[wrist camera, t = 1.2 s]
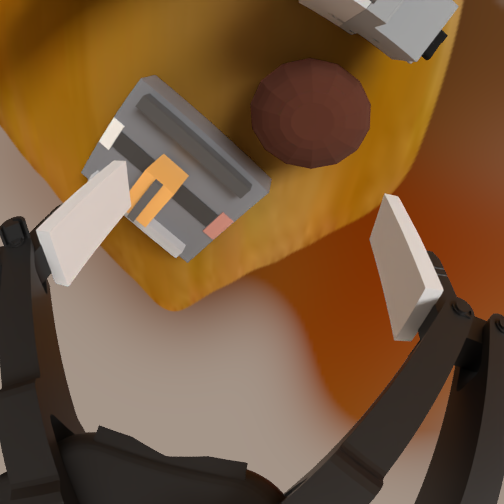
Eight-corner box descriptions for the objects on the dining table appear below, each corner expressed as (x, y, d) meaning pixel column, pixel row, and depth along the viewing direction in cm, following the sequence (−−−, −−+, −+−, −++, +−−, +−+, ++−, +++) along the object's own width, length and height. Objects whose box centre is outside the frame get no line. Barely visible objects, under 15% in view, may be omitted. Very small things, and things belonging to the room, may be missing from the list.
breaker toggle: (137, 186, 37) (116, 208, 32) (163, 153, 34) (143, 171, 29) (161, 206, 38) (143, 230, 34) (188, 175, 35) (172, 197, 31)
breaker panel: (96, 161, 40) (74, 177, 36) (155, 74, 32) (134, 80, 28) (195, 246, 47) (184, 269, 43) (271, 179, 39) (267, 198, 35)
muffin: (272, 157, 37) (264, 191, 29) (245, 72, 31) (227, 79, 23) (367, 139, 34) (387, 168, 26) (347, 50, 28) (365, 49, 20)
